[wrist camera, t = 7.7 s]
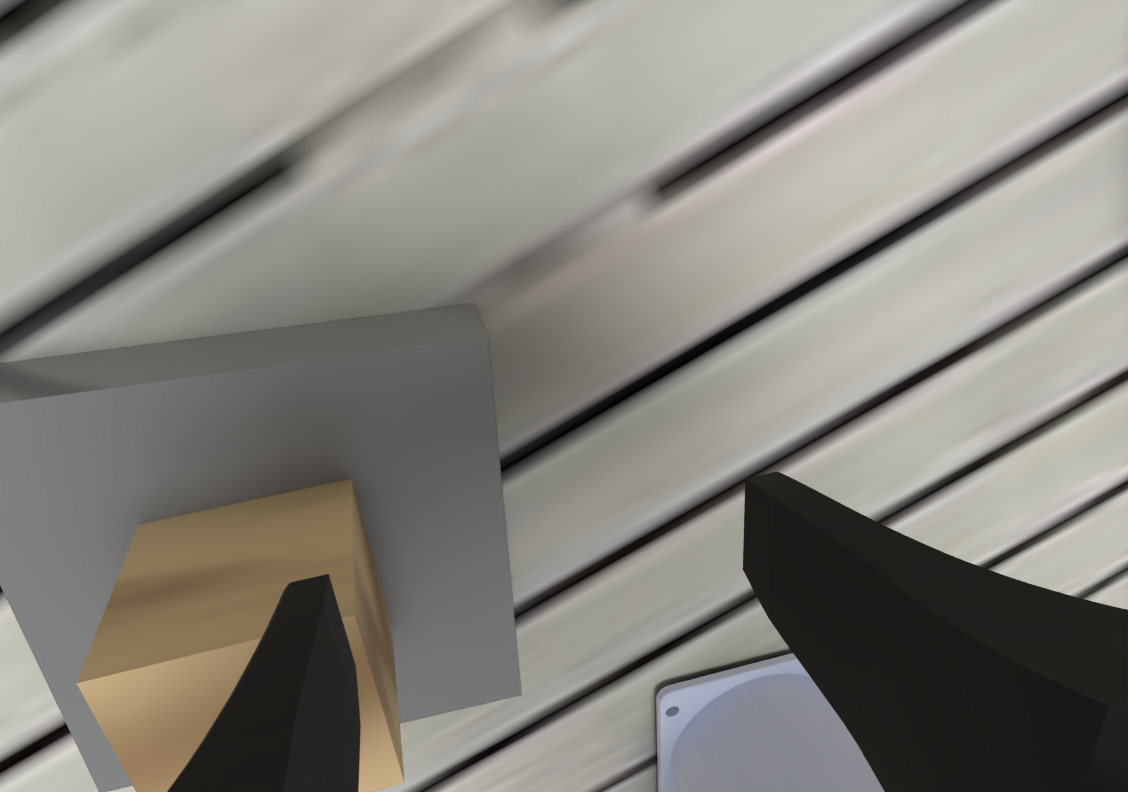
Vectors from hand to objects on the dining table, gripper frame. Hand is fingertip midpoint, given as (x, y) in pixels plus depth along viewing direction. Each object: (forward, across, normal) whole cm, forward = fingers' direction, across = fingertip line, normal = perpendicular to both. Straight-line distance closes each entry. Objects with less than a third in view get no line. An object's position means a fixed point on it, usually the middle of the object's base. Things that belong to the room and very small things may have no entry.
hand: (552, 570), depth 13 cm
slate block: (+10, +6, +4) cm, 12 cm away
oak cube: (+7, +6, +4) cm, 10 cm away
